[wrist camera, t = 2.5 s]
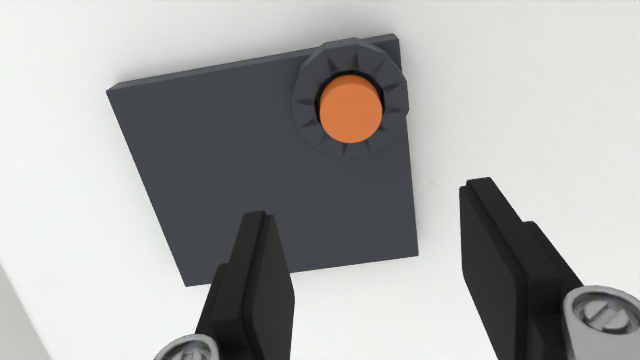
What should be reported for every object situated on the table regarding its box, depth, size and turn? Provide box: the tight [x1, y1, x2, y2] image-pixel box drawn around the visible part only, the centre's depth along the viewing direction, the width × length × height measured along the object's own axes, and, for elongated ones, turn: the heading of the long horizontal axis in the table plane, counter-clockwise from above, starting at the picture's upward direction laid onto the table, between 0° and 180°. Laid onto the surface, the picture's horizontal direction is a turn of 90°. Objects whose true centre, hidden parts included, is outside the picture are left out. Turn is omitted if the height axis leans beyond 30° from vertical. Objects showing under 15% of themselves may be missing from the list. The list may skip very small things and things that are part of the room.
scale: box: [106, 34, 419, 287], centre depth 26 cm, size 16×14×4 cm
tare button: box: [320, 75, 382, 143], centre depth 22 cm, size 3×3×2 cm
